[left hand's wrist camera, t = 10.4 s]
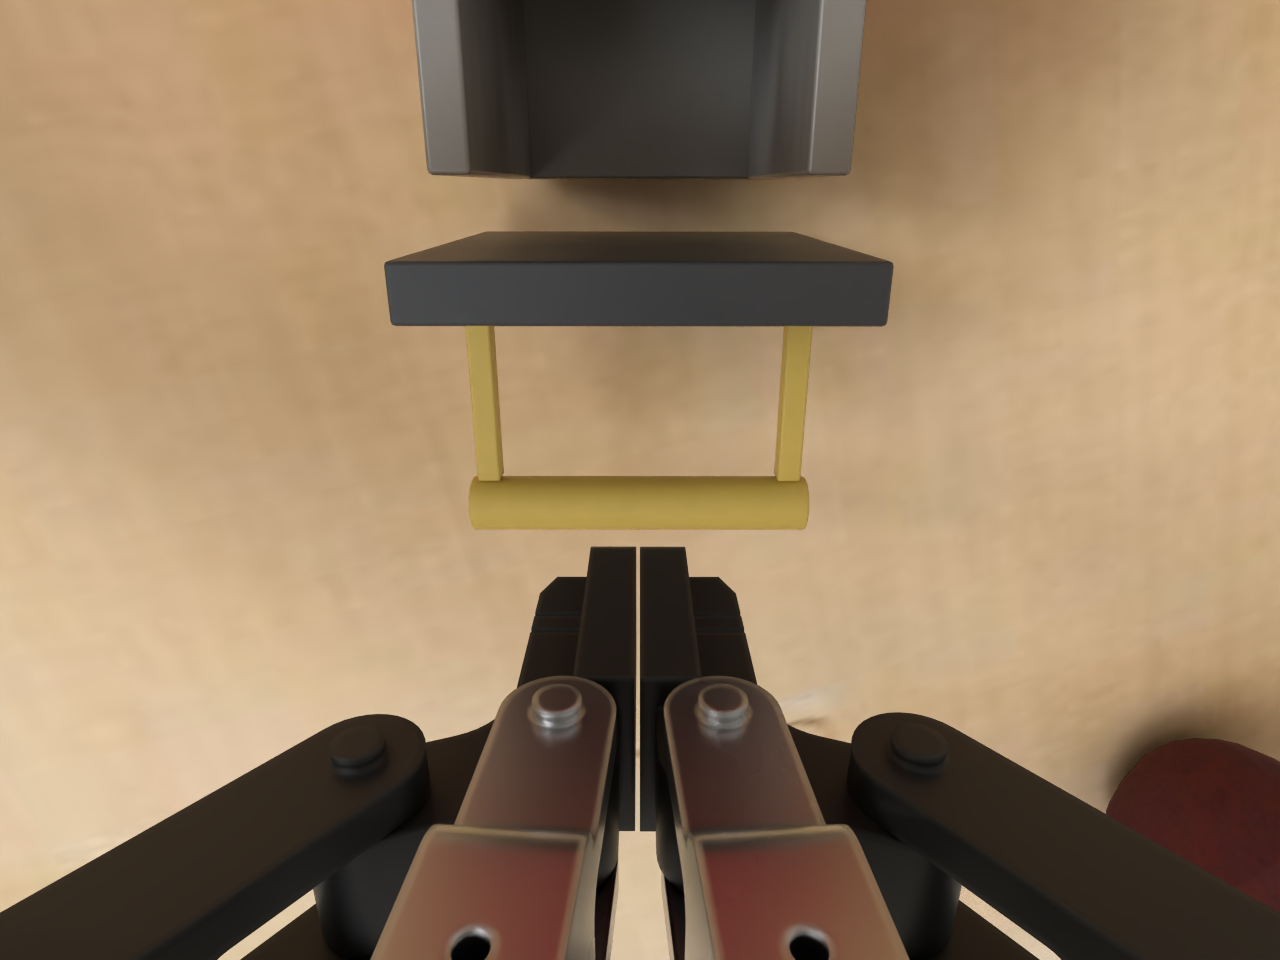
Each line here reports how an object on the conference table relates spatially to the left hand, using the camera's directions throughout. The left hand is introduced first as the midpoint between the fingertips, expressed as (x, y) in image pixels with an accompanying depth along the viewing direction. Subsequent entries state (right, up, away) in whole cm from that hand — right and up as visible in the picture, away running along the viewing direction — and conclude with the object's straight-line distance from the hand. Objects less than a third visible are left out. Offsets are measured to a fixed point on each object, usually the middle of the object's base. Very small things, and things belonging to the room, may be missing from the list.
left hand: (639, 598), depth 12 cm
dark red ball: (+22, -10, +20) cm, 31 cm away
